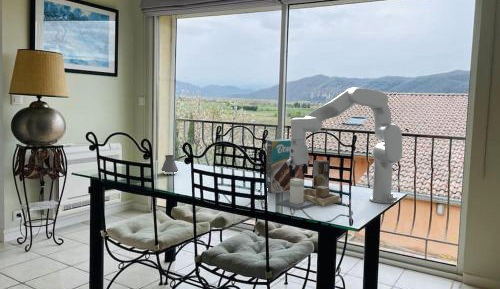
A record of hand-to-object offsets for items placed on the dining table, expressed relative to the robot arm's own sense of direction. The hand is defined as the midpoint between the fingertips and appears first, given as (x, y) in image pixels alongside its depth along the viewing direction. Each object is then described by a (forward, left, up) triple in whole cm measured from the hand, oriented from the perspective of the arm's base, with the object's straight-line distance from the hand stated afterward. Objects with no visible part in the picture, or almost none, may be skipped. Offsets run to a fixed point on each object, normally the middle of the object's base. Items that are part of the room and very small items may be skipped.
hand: (298, 175), depth 226 cm
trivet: (0, +1, -16) cm, 15 cm away
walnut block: (-5, -14, -16) cm, 22 cm away
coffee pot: (+103, +9, -16) cm, 105 cm away
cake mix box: (+25, -17, -16) cm, 35 cm away
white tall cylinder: (0, +1, -14) cm, 14 cm away
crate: (0, -14, -16) cm, 21 cm away
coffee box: (+18, -41, -16) cm, 48 cm away
